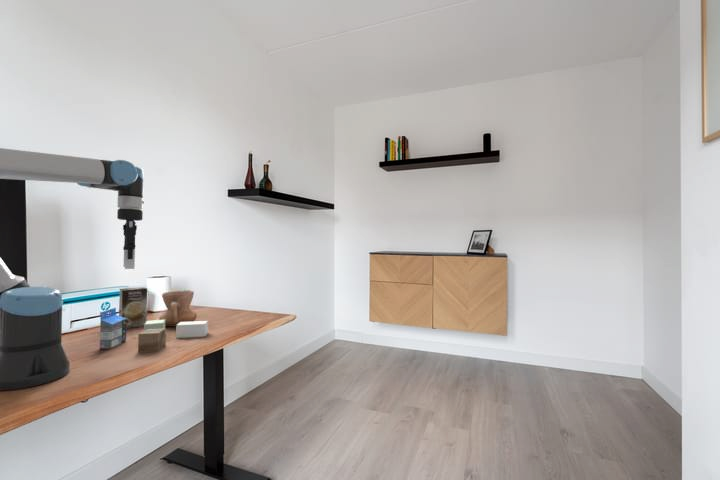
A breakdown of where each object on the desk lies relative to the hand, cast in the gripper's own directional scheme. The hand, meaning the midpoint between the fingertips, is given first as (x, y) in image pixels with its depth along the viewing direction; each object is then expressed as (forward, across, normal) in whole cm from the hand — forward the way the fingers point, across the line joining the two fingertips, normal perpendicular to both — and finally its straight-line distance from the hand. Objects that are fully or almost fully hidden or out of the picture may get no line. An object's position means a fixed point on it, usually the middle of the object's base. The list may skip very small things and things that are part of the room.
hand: (128, 267), depth 119 cm
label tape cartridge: (+27, -1, +4) cm, 27 cm away
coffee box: (+27, +27, -3) cm, 38 cm away
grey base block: (+27, -4, -21) cm, 34 cm away
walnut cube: (+27, -14, -7) cm, 31 cm away
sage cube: (+27, +1, -9) cm, 28 cm away
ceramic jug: (+26, +18, -19) cm, 37 cm away
